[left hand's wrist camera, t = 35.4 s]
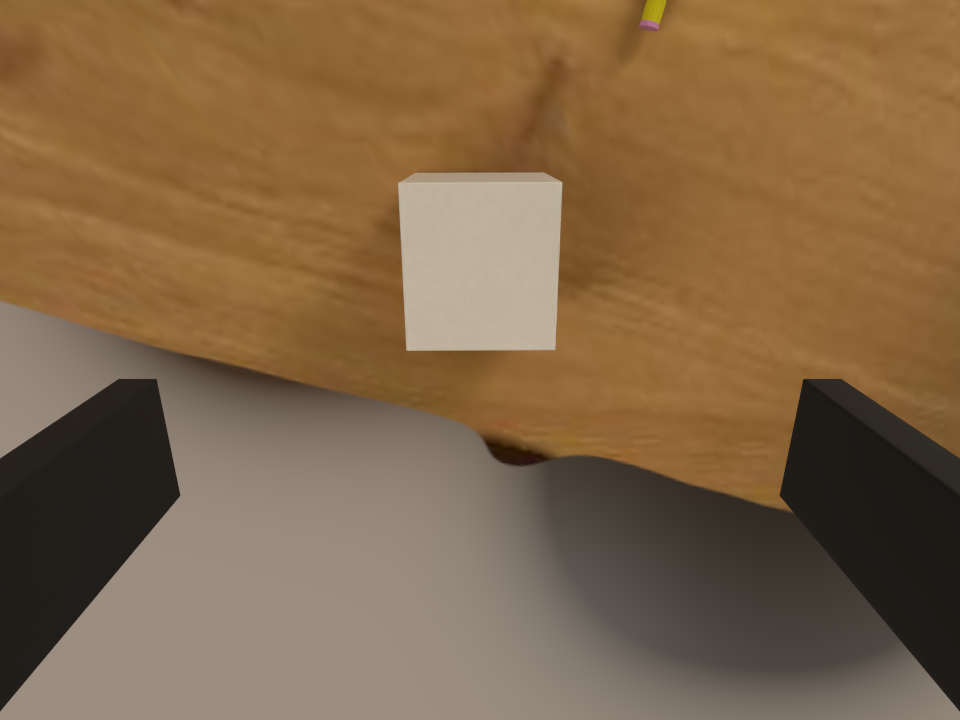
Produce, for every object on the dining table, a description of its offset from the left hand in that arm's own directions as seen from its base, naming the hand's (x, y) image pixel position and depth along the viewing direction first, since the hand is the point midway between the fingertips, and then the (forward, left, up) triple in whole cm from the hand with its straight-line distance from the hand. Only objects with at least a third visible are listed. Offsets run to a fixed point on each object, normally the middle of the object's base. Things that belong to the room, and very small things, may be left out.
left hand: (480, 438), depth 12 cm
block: (0, 0, -25) cm, 25 cm away
